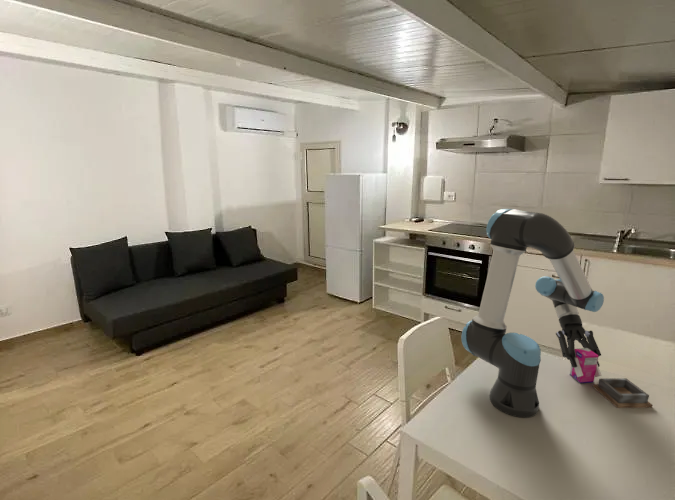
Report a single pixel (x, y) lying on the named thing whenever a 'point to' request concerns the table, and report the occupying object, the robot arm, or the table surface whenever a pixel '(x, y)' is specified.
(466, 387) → the table surface
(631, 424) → the table surface
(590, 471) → the table surface
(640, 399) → the socket
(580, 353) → the supplement box
